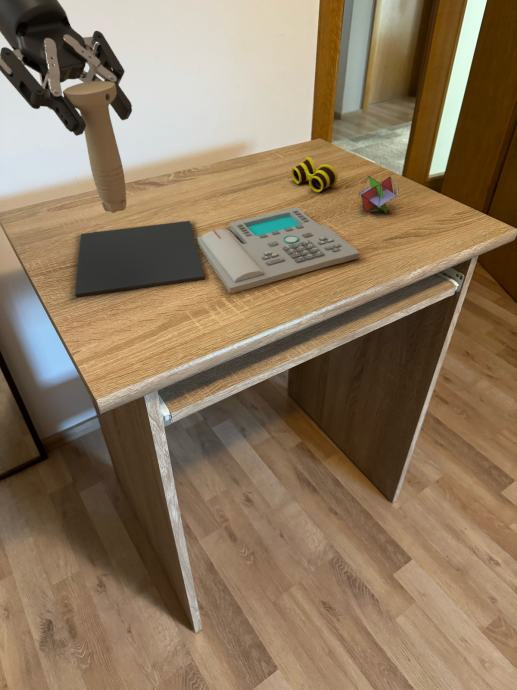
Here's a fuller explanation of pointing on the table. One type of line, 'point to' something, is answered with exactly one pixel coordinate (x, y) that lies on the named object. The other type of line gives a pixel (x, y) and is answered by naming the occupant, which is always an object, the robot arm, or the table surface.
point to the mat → (137, 258)
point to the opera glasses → (314, 175)
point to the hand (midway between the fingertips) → (105, 122)
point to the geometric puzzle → (378, 194)
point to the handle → (101, 140)
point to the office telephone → (272, 249)
